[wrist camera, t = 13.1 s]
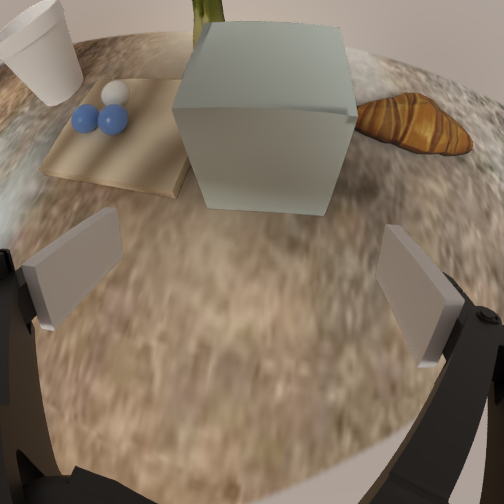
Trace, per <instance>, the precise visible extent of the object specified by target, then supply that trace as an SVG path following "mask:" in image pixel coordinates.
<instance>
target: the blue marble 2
mask: <svg viewBox="0 0 504 504" xmlns="http://www.w3.org/2000/svg"><path fill="white" fill-rule="evenodd" d="M128 120H129V116H128V112H127V110H126V109H125V108H124V107H123V106H121V105H119V104H110V105H108V106H106V107H104V108H103V109H102V110H101V112H100V113H99V115H98V120H97V122H98V127H99V129H100V130H101V131H102V132H103V133H105V134H107V135H117V134H119V133H121V132H122V131H123V130H124V129H125V128H126V126H127V124H128Z"/></svg>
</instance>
